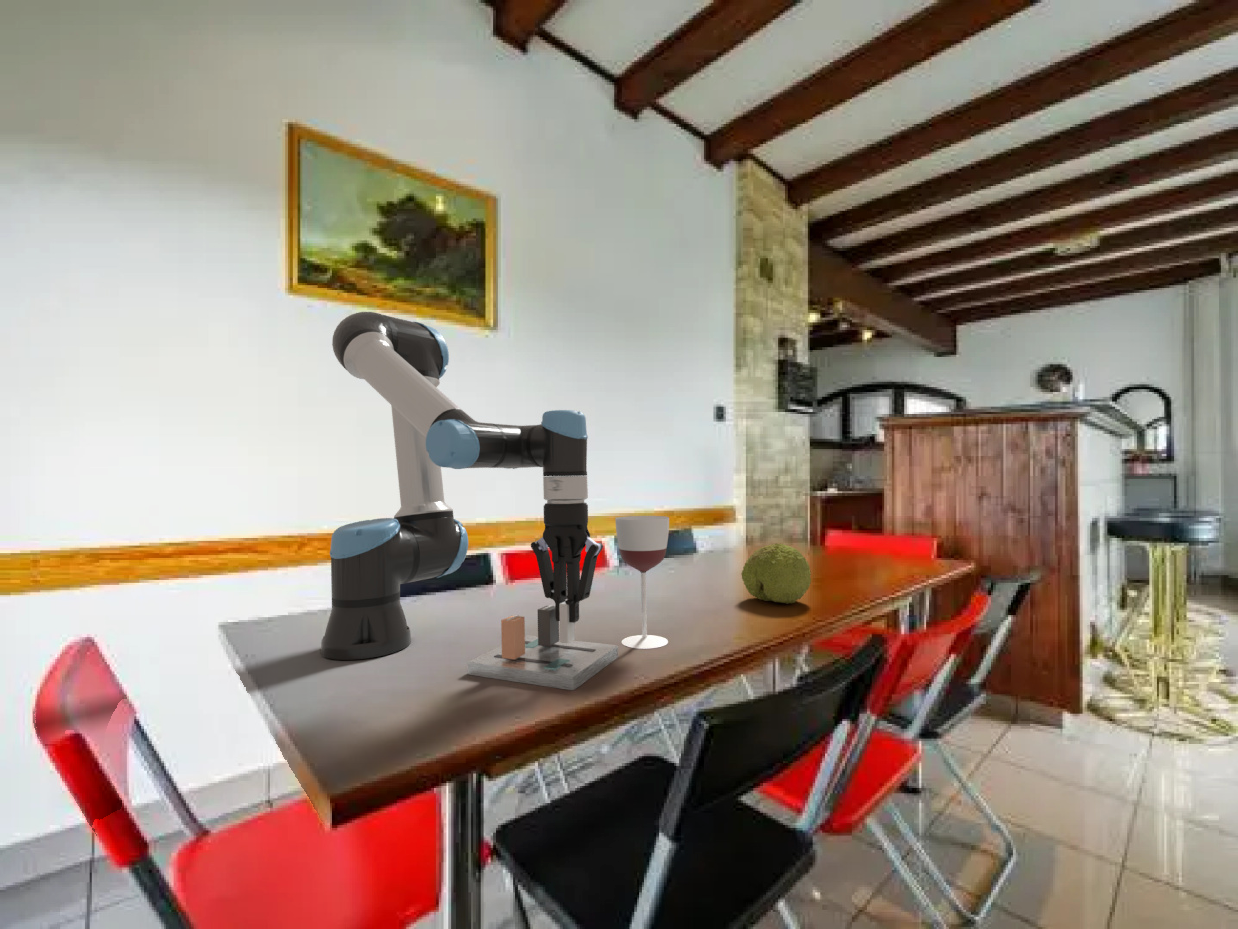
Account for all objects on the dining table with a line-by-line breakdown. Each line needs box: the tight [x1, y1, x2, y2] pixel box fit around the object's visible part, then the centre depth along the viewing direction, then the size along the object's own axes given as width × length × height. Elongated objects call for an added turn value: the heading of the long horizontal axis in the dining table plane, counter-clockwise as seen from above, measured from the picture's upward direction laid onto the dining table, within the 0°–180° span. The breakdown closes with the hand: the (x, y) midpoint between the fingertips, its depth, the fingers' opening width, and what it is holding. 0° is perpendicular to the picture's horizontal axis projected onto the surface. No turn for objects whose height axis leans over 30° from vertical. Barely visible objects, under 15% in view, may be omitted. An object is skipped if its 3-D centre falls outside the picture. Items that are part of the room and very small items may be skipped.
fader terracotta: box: [500, 614, 526, 660], centre depth 92 cm, size 2×3×6 cm
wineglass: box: [615, 515, 670, 650], centre depth 107 cm, size 9×10×23 cm
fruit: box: [740, 543, 812, 605], centre depth 137 cm, size 16×14×15 cm
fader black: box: [537, 604, 560, 646], centre depth 99 cm, size 2×3×6 cm
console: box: [466, 634, 619, 691], centre depth 95 cm, size 19×16×2 cm
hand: (567, 640), depth 98 cm, fingers closed
